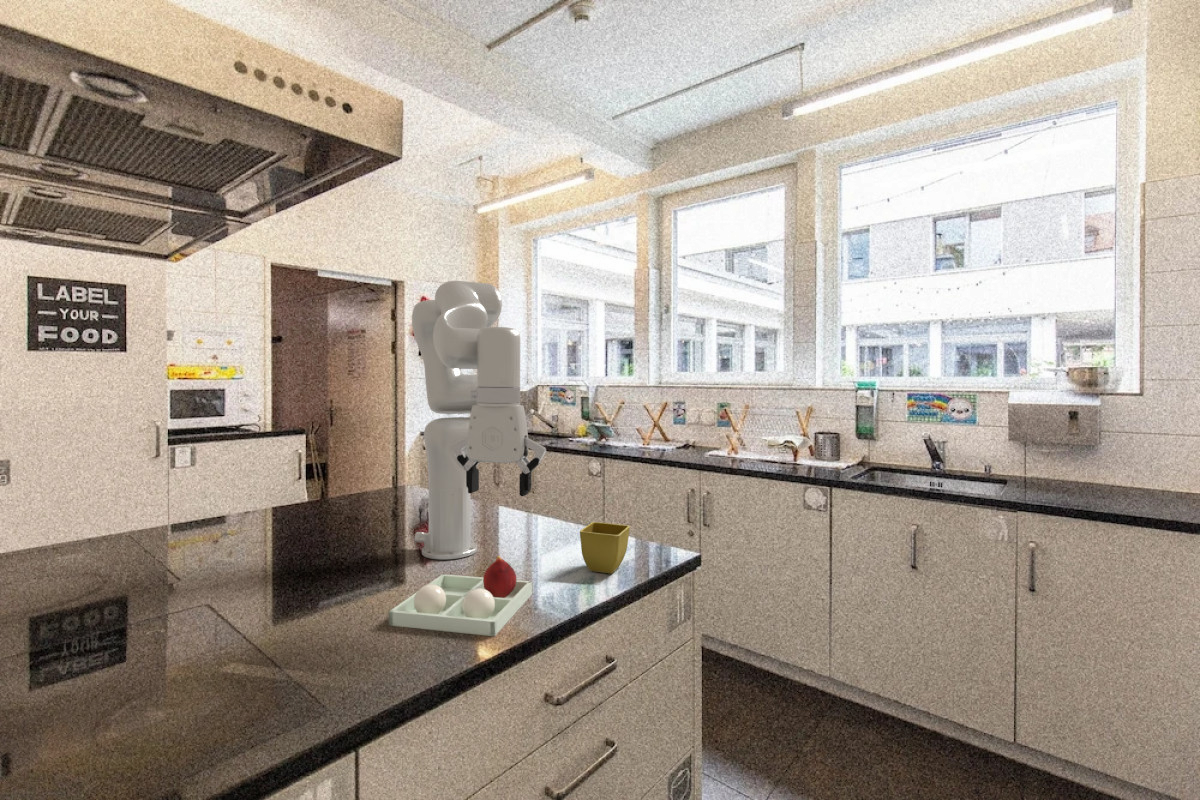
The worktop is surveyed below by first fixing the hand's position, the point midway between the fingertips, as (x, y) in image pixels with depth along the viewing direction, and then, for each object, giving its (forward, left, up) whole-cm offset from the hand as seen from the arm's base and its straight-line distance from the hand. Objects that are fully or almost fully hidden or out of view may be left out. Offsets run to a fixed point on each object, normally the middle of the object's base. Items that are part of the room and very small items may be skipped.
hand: (498, 493), depth 101 cm
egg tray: (-4, -5, -20) cm, 21 cm away
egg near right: (0, -9, -19) cm, 21 cm away
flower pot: (+15, +23, -21) cm, 34 cm away
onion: (0, 0, -20) cm, 19 cm away
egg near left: (-8, -9, -19) cm, 23 cm away
